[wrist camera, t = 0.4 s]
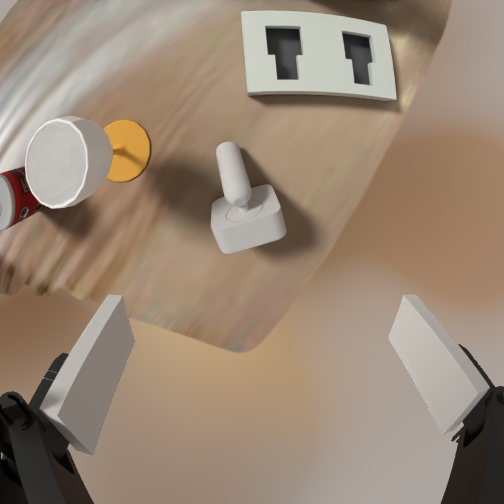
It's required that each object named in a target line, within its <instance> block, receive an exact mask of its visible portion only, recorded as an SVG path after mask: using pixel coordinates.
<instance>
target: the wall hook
mask: <svg viewBox="0 0 504 504" xmlns="http://www.w3.org/2000/svg"><path fill="white" fill-rule="evenodd" d="M216 156H217V161H218V166H219V172H220V177H221V182H222V187H223V192H224V197H221V198H219V199H217V200H216V201H214V202H213V203H212V210H211V229H212V231H213V234H214V236H215V238H216V240H217V243H218V245H219V247H220V249H221V251H222V252H223V253H225V254H231V253H235V252H238V251H242V250H245V249H249V248H252V247H256V246H259V245H262V244H266V243H269V242H272V241H276V240H279V239H281V238H282V237H284V236H285V234H286V231H287V230H286V226H285V222H284V218H283V214H282V211H281V207H280V204H279V201H278V199H277V197H276V194H275V192H274V190H273V188H272V186H271V185H260V186H257V187H253V188H251V187H250V183H249V180H248V176H247V173H246V169H245V166H244V162H243V159H242V156H241V152H240V149H239V146H238V145H237V144H236V143H234V142H224V143H222V144H220V145H219V146H218V147H217V149H216Z"/></svg>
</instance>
